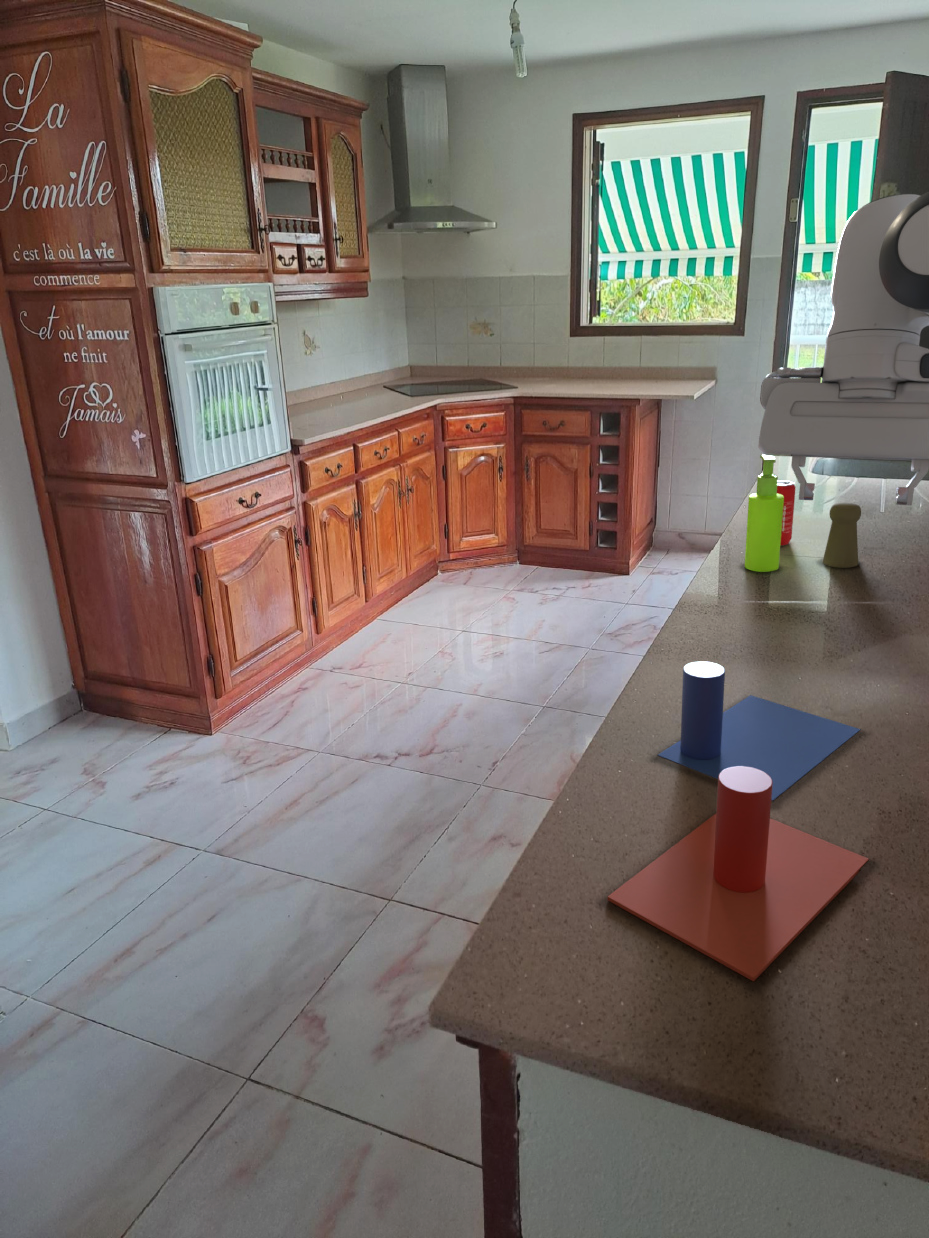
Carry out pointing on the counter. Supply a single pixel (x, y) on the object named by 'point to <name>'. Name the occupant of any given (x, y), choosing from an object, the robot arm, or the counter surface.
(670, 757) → the blue mat
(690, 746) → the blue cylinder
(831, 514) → the cork
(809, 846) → the terracotta mat
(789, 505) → the beverage can
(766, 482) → the soap dispenser
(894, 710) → the counter surface
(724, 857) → the red cylinder
